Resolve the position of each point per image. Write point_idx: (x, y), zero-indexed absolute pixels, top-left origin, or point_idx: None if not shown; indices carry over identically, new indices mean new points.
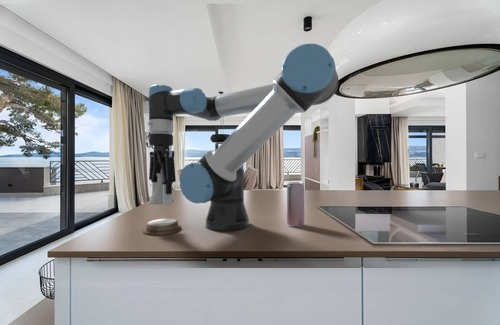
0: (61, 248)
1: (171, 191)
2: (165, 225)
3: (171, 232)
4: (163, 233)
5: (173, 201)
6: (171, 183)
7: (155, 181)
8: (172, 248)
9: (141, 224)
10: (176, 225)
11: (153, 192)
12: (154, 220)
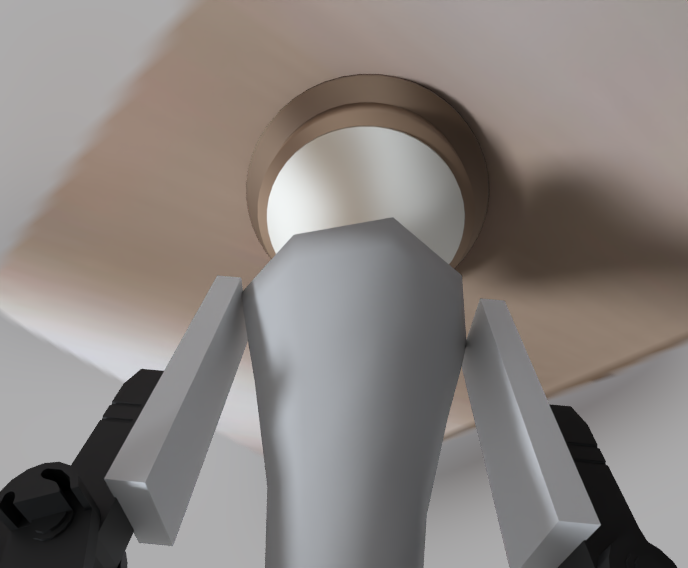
0: None
1: (591, 436)
2: (453, 251)
3: (484, 211)
4: (465, 253)
5: (399, 223)
6: (661, 563)
7: (120, 534)
8: (672, 320)
9: (136, 221)
10: (462, 164)
11: (220, 414)
12: (284, 242)
